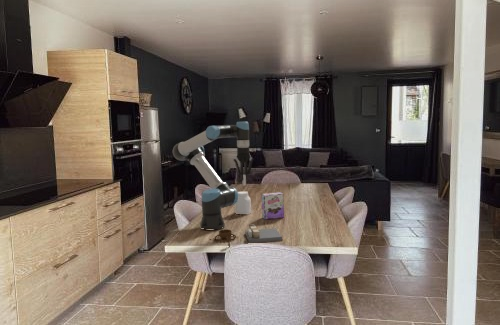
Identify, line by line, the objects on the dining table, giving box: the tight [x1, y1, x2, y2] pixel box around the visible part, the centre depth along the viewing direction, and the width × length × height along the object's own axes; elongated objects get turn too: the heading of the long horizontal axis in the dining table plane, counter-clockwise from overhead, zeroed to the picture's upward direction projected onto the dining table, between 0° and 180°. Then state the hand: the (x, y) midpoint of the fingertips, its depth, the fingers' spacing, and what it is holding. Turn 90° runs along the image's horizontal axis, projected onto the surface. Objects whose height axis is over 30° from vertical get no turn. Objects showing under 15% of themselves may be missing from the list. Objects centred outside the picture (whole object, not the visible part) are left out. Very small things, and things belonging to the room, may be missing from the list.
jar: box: [234, 191, 252, 215], centre depth 266 cm, size 12×10×15 cm
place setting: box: [214, 229, 237, 248], centre depth 205 cm, size 18×20×6 cm
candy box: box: [261, 192, 285, 220], centre depth 251 cm, size 14×6×16 cm, turn 105°
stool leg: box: [248, 223, 260, 238], centre depth 209 cm, size 16×3×3 cm, turn 10°
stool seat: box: [244, 227, 283, 244], centre depth 209 cm, size 18×17×5 cm
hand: (244, 185), depth 231 cm, fingers closed
